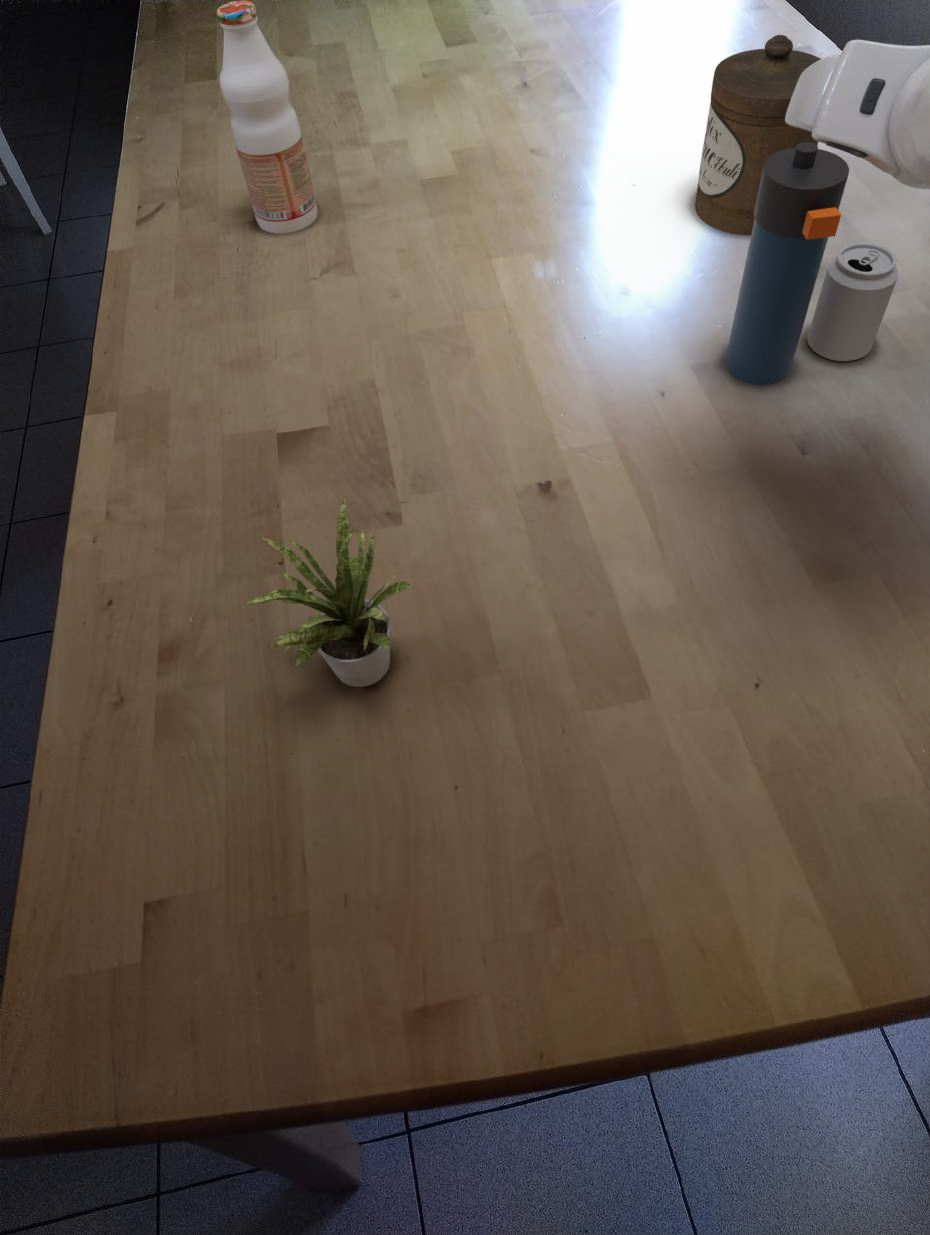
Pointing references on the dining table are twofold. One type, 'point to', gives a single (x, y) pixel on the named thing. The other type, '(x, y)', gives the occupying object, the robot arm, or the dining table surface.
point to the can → (852, 301)
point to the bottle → (782, 261)
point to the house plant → (340, 611)
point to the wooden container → (747, 130)
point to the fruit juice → (264, 124)
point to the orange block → (821, 223)
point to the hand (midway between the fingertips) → (894, 136)
